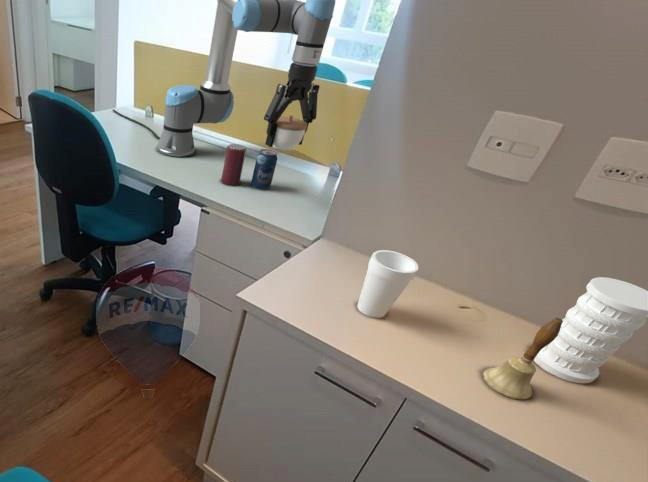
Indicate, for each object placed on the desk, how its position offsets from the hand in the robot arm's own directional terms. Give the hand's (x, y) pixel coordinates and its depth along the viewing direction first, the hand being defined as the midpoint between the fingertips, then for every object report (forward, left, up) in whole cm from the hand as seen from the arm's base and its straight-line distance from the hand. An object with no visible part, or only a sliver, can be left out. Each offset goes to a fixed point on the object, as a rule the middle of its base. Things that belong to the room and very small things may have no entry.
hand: (283, 144), depth 139 cm
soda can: (-10, +3, -18) cm, 20 cm away
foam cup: (+61, -14, -18) cm, 66 cm away
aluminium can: (-16, -6, -18) cm, 24 cm away
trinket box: (0, 0, -1) cm, 1 cm away
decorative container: (+89, +12, -18) cm, 92 cm away
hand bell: (+89, -6, -18) cm, 91 cm away
